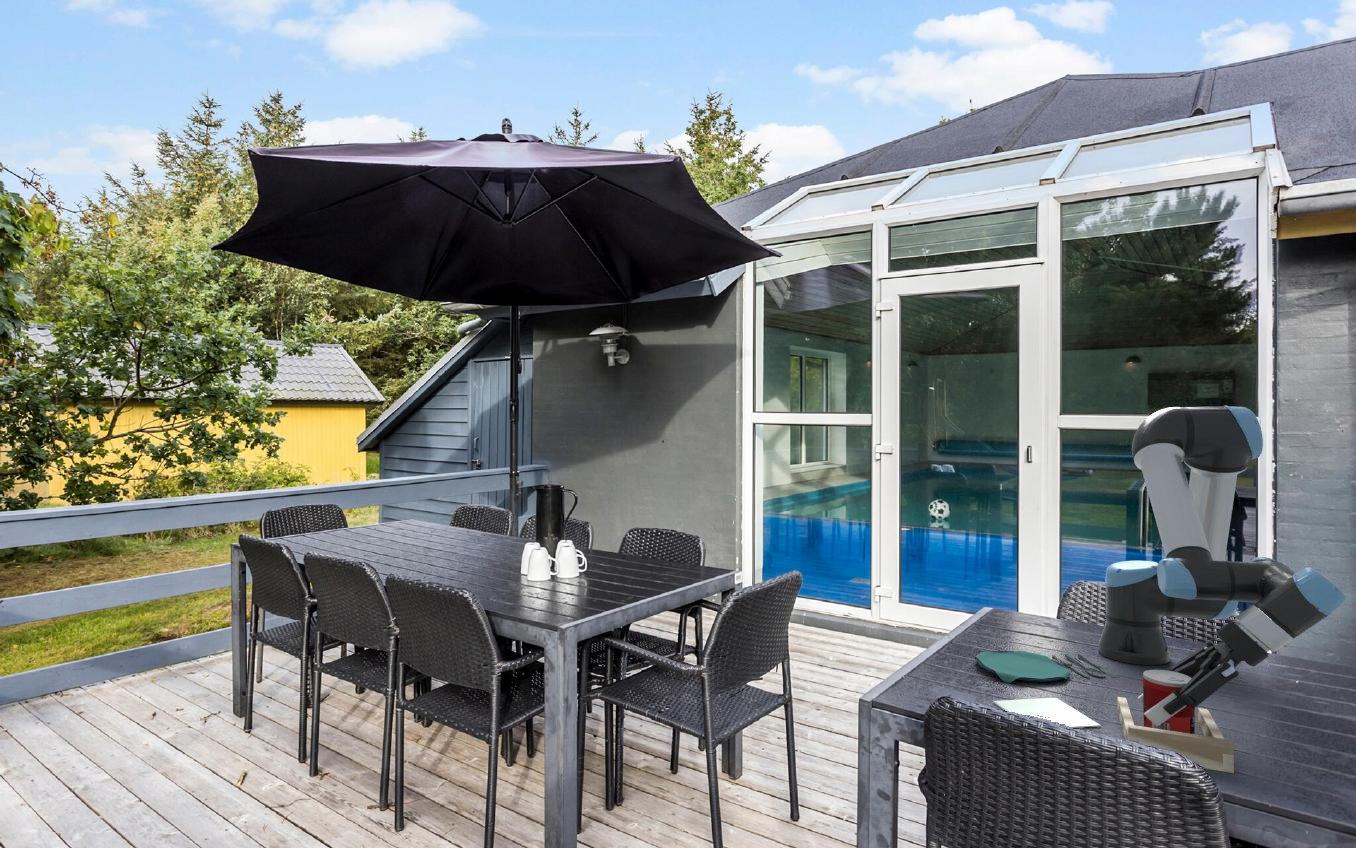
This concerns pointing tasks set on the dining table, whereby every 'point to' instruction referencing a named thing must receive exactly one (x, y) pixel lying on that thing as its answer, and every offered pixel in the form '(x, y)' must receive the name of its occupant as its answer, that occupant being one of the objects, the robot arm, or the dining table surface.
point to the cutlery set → (1033, 666)
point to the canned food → (1159, 688)
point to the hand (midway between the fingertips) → (1147, 711)
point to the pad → (1048, 711)
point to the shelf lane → (1183, 739)
